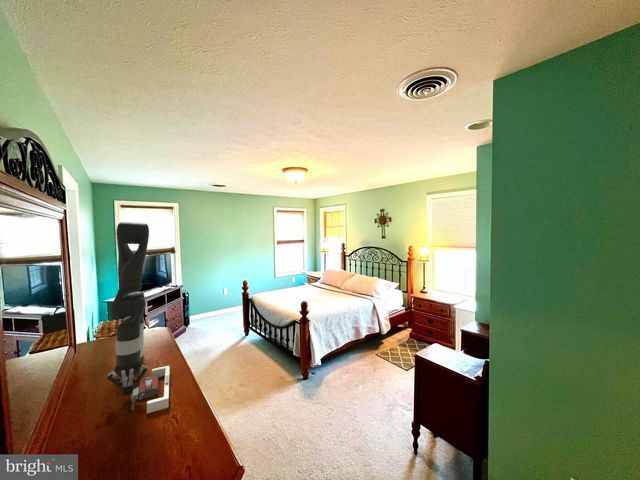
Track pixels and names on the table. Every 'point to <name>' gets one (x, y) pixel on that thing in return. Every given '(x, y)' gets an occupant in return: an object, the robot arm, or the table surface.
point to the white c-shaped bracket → (164, 401)
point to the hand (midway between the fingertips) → (128, 394)
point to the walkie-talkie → (145, 389)
